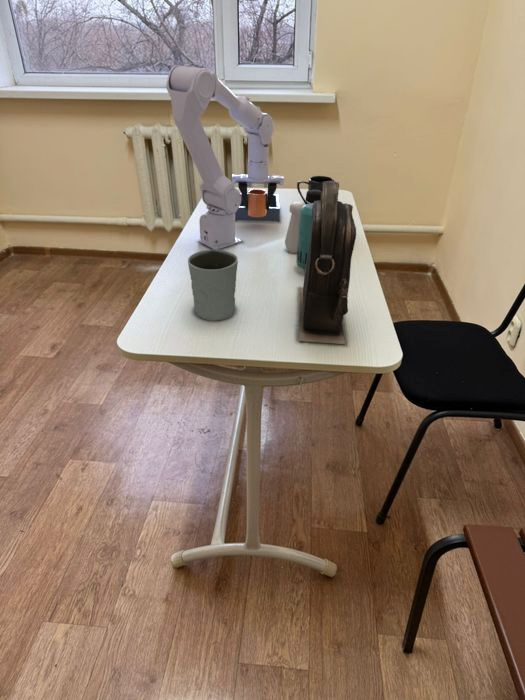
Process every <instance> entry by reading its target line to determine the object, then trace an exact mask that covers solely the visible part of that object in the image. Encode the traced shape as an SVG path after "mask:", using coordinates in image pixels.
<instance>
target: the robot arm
mask: <svg viewBox="0 0 525 700" xmlns="http://www.w3.org/2000/svg"><path fill="white" fill-rule="evenodd" d="M171 67H172V68H171V69H170V70H169V72H168V75H167V80H166V84H165V88H166V91H167V93H168V95H169V98H170V102H171V109H172V119H173V121H174V124H175V126H176V128H177V130H178V132H179V134H180V137H181V138H182V140H183V143H184V145H185V147H186V149H187V151H188V153H189V155H190V157H191V160H192V161H193V163H194V165H195V168H196V170H197V172H198V174H199V176H200V178H201V180H202V181H201V182H200V183H199V189H200V191H201V200H202V202H203V204H204V205H206V210H207V212H205V213H204V214H201V216H200V218H199V239H198V241H199V243H201V244H203V245H205V246H207V247H208V248H210V249H211V250H222V249H224V248H227V247H230V246H233V245H236V244H238V243H240V242H242V240H243V239H240V238H238V237H236V220H235V212H237V209H238V208H239V206H240V204H241V194H242V197H243V200H244V204H245V209H248V199H247V194H248V184H256V185H257V184H259V185H260V184H261V185H267V194H268V196H267V210H269V206H270V202H271V199H272V197H273V195H274V194H275V193H276V191H277V188H278V185H280V186H283V185H284V180H285V178H284V175H274V174H269V159H270V157H269V156H270V144H271V141H272V135H273V133H274V130H275V125H276V124H275V123H274V120H273V118H272V116H271V115H270V114H269V113H267V112H266V113H265V112H263V111H261V107H259V106H257V105H255V104H253V103H252V102H251V97H249V96H247V95H238V96H236V95H235V93H234V92H232V91H231V90H230V89H229V88H228V87H227V85H225V84H224V83H223V82H222V81H221V80H220V79H219V78H218V75H217V74H215V73H213V72H212V71H211V70H210V69H208V68H207V67H202V68H199V67H191V66H185V65H182V64H176V65H174V66H171ZM212 99H213V100H214V101H215V102H217V103H219V105H221V106H223V107H225V108H226V109H227V110H228V115H229V118H231V119H232V120H234V121H235V122H236V123H238V124H239V125H240V126H242V127H243V131H244V133H245V134H247V173H243V174H232V175H231V180H230V179H229V178H228V177H227V176H226V175H225V174H224V172H223V170H222V168H221V165H220V163H219V161H218V158H217V156H216V154H215V152H214V149H213V147H212V145H211V142H210V141H209V138H208V136H207V133H206V130H205V128H204V126H203V124H202V122H201V119H200V118H201V116H204V113H205V112H206V110H207V108H208V106H209V104H210V101H211V100H212ZM236 184H238V186H237V187H238V188H236V187H235V185H236ZM240 193H241V194H240Z"/></svg>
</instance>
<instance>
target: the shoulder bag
mask: <svg viewBox="0 0 525 700" xmlns="http://www.w3.org/2000/svg"><path fill="white" fill-rule="evenodd" d="M339 188H340V182H338V181H335V180H334V181H325V182H322V193H321V201H314V203H313V208H312V220H311V230H310V240H309V248H308V255H307V261H306V268H305V270H304V275H303V276H304V277H303V284H302V287H301V288H299V306H298V311H299V312H298V313H299V314H298V341H299V342H309V343H321V344H322V343H323V344H340V345H345V344H346V341H345V332H344V325H343V323H344V322H343V321H344V316H346V315H347V313H348V311H349V308H348V307H349V306H348V301H349V299H348V297H349V295H348V294H349V289H350V280H351V267H352V258H353V257H352V256H353V253H354V248H355V243H356V239H357V227H356V223H355V220H354V216H353V210H354V209H353V208H354V207H353V204H351V203H343V202H342V201H341V200H339Z"/></svg>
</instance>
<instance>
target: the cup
mask: <svg viewBox="0 0 525 700" xmlns="http://www.w3.org/2000/svg"><path fill="white" fill-rule="evenodd" d="M247 194H248V210H247V212H248V215H249V216H251V217H263V216H265V215H266V213H267V194H268V190H265V189H263V188H253V189H249V190H247Z"/></svg>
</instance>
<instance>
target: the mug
mask: <svg viewBox="0 0 525 700" xmlns="http://www.w3.org/2000/svg"><path fill="white" fill-rule="evenodd" d="M325 181H335V179H334V178H333V177H330V176H327V175H314V176H310V177H309V178H308V181H304V180H299V181H297V182H296V189H297V192H298V194H299V195H300V198H301V200H302V201H303V203H304V204H305V205H306V204H309V202H307V201H306V198H305V197H304V195H303V194H302V191H301V189H300V184H306V185H307V187H308V188H307V191H309V190H320V191H322V182H325Z"/></svg>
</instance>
